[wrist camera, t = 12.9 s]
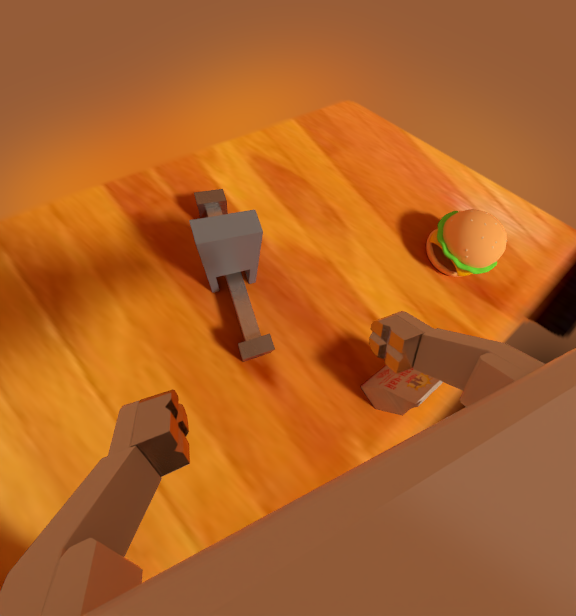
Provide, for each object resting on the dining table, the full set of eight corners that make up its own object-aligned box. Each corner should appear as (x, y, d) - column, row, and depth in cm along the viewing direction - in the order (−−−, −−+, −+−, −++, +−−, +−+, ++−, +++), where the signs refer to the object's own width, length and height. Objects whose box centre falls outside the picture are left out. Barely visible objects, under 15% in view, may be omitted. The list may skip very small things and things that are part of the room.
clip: (212, 292, 33) (195, 244, 21) (208, 276, 34) (189, 220, 22) (255, 282, 35) (262, 231, 23) (250, 267, 36) (255, 209, 23)
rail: (270, 352, 33) (274, 349, 28) (242, 362, 32) (242, 359, 27) (224, 210, 38) (222, 189, 33) (199, 214, 37) (193, 192, 32)
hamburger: (406, 242, 43) (444, 211, 35) (445, 218, 47) (487, 184, 39) (448, 295, 41) (499, 275, 33) (484, 265, 45) (538, 240, 37)
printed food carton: (406, 380, 35) (466, 382, 26) (375, 408, 33) (428, 421, 24) (391, 360, 36) (444, 354, 26) (360, 386, 34) (405, 390, 24)
